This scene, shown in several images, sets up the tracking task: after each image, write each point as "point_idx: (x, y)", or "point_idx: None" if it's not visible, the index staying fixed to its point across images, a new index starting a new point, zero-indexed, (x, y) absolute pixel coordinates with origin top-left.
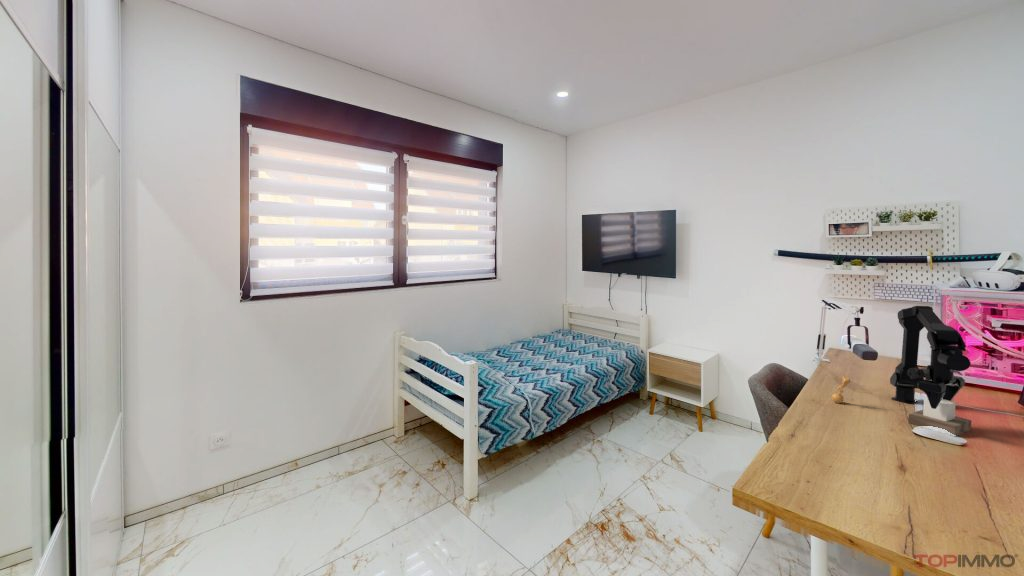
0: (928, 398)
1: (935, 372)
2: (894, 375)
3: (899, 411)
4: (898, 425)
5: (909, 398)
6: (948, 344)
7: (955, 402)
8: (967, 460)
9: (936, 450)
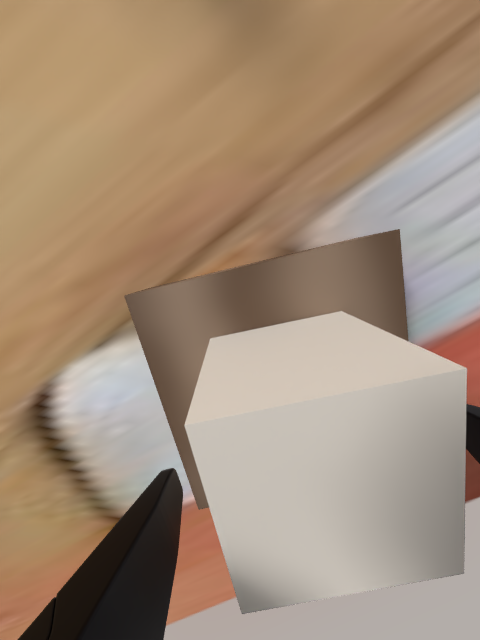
0: (46, 615)
1: None
2: None
3: (328, 94)
4: (57, 298)
5: None
6: None
7: (453, 571)
8: (5, 599)
9: None
